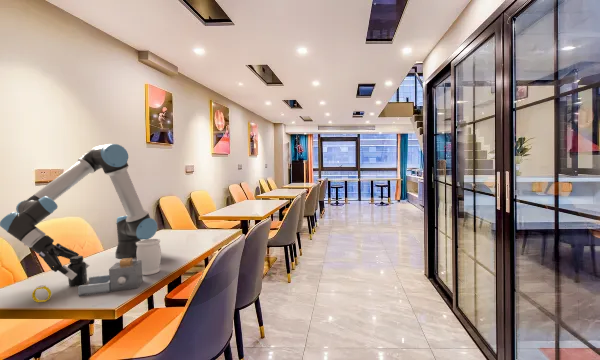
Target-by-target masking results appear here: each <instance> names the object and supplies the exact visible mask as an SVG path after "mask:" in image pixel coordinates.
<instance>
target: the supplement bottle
mask: <svg viewBox="0 0 600 360" xmlns="http://www.w3.org/2000/svg"><path fill="white" fill-rule="evenodd" d="M83 261H84V256H83V255H78V256H74V257H71V258H70V259H69V264H68V265H67V267H68V268H69V269H70V270H72V271H73V272H74V273H76V274H77V275H76V276H75V277H74V278H73V280H71V279H69V278H68V277H67V280H68V282H67V283H68V286H69V287H73V288H74V287H78V286H81V285H87V283H88V270H87V269H88V268H87V269H86V263H87V262H86V261H85V262H86V263H85V262H83Z"/></svg>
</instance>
